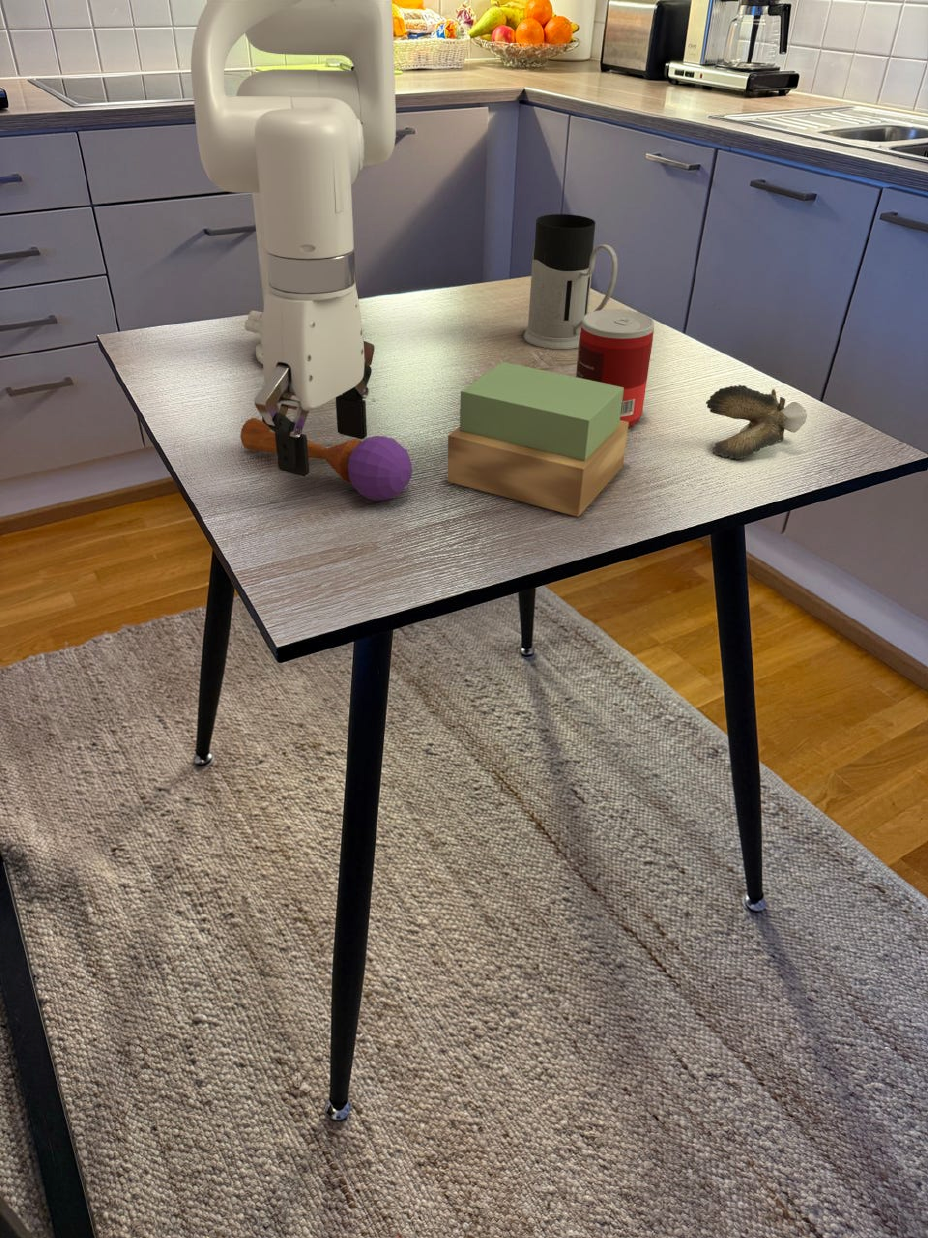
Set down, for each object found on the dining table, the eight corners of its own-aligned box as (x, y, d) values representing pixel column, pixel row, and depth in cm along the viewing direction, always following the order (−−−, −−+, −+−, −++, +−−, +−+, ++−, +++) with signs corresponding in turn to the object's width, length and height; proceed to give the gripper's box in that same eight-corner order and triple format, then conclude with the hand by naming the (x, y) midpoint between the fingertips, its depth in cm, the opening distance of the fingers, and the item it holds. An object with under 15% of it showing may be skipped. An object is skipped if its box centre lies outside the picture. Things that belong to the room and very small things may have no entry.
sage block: (459, 430, 91) (460, 390, 88) (500, 398, 97) (502, 361, 95) (584, 461, 86) (589, 420, 84) (619, 425, 92) (624, 387, 90)
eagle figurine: (749, 411, 106) (690, 410, 101) (794, 371, 100) (733, 368, 95) (776, 468, 103) (717, 470, 99) (823, 431, 97) (762, 431, 93)
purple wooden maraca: (273, 401, 98) (425, 438, 88) (274, 457, 100) (422, 499, 90) (229, 408, 93) (385, 448, 83) (231, 467, 96) (383, 512, 86)
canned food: (651, 412, 108) (665, 316, 101) (624, 437, 102) (637, 337, 96) (590, 397, 111) (600, 304, 104) (560, 421, 105) (569, 323, 99)
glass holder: (559, 323, 132) (569, 209, 124) (630, 353, 123) (645, 233, 114) (510, 334, 128) (517, 217, 119) (579, 366, 119) (592, 242, 110)
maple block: (447, 481, 93) (447, 434, 90) (500, 437, 101) (502, 393, 98) (578, 517, 88) (583, 468, 85) (623, 467, 96) (629, 421, 93)
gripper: (332, 245, 89) (342, 416, 99) (211, 288, 76) (236, 479, 86) (400, 256, 86) (403, 430, 96) (286, 302, 74) (303, 498, 83)
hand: (324, 453), depth 91 cm, fingers open, 9 cm apart
